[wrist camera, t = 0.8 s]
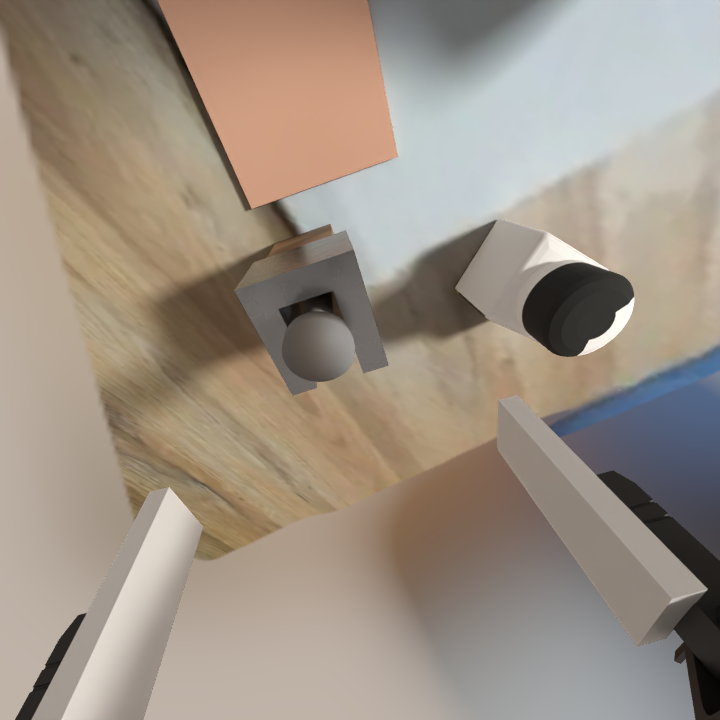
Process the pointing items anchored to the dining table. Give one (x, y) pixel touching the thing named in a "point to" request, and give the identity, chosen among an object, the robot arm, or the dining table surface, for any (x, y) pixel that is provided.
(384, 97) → the tile
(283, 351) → the knob on wooden block
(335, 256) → the c link
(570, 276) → the medicine bottle
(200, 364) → the dining table surface
